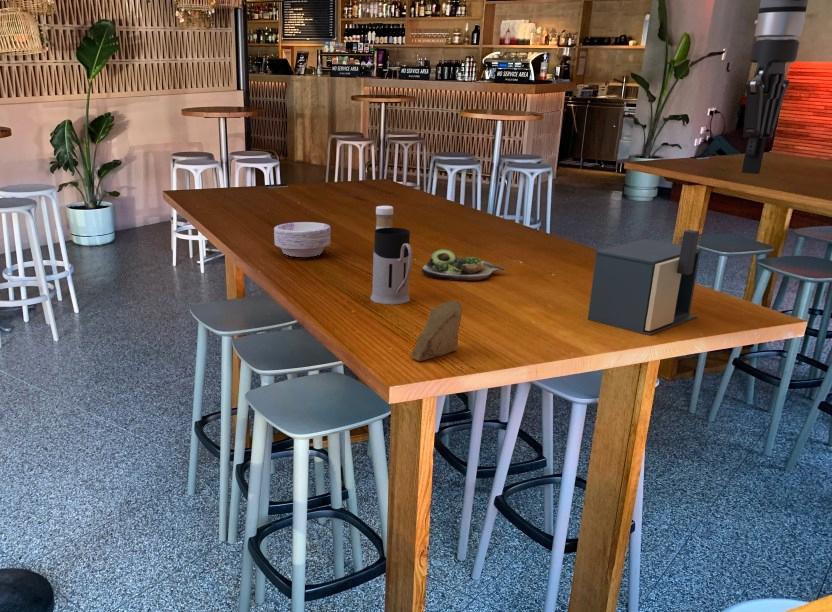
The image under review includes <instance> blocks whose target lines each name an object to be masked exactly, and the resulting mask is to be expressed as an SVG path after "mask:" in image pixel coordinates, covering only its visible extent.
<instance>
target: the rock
mask: <svg viewBox="0 0 832 612" xmlns="http://www.w3.org/2000/svg"><path fill="white" fill-rule="evenodd" d="M462 309H463V308H462V305H461V304H460V301H459V300H455V301H453V300H448V301H445V302H443V303H441V304H440V305H437V307H435V308H433V309H431V310H430V311H429V316H428V320H427V321H426V323H425V326H424V327H423V330H422V332H420V334H419V336H418V337H417V340H416V343H415V346H414V348H413V349H412V352H411V354H410V358H412V359H413V360H416V361H418V362H423V361H426V360H430V359H434V358H437V357H440V356H445V355H447V354H449V353H453V352H456V351H457V349H458V344H459V329H460V326H461V321H462Z"/></svg>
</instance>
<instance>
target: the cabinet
mask: <svg viewBox="0 0 832 612" xmlns="http://www.w3.org/2000/svg"><path fill="white" fill-rule="evenodd" d="M681 246H682V244H678V243H673V242H666V241H660V240H654V239H650V238H649V239H648V238H644V239H640V240H639V239H638V240H635V241H631V242H627V243H624V244H618V245H616V246H612V247H606V248H603V249H599V250H596V253H595V259H594V266H593V267H594V268H593V275H592V283H591V292H590V297H589V298H590V299H589V306H588V313H587V320H588V321H593V322H596V323H599V324H604V325H608V326H612V327H615V328H619V329H623V330H627V331H631V332H635V333H639V334H643V335H645V336H646V335H647V336H653V335H656V334H658V333H661V332H663V331H666V330H668V329H671V328H674V327H676V326H679V325H681V324H684V323H687V322H689V321H693V320H694V319H697V318H698V315H696V314H692V313H691V309H692V303H693V296H694V291H695V287H696V286H695V285H696V280H697V274H698V270H699V269H698V268H699V264H700V257H701V252H702V248H701V247H697V248H696V253H695V259H694V265H693V270H692V273H691V274H688V275H685V274H681V279H680V285H679V291H678V297H677V303H676V308H675V314H674V320H673V322H672V323H670V324H667V325H665V326H662V327H659V328H657V329H654V330H651V331H647V330H645V326H646V320H647V314H648V307H649V301H650V295H651V288H652V282H653V276H654V269H655V264H658V263H661V262H665V261H668V260H672V259H675V258H679V257H680V252H681ZM690 313H691V314H690Z"/></svg>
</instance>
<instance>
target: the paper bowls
mask: <svg viewBox="0 0 832 612" xmlns="http://www.w3.org/2000/svg"><path fill="white" fill-rule="evenodd" d="M273 237H274V239H273V240H274V242H273V243H274V246H275V247H278V248H280V249H281V251H282V253H283V255H284V254H286V255H289V256H296V257H310V256H317V255H319V256H320V254H321V253H322V254H323V251H324V250H325V247H328V246H330V245H331V226H330V225H329V224H327V223H322V222H314V221H301V222H299V221H298V222H287V223H281V224H278V225H276V226H274V228H273ZM322 254H321V255H322ZM286 255H285V256H286ZM317 257H318V256H317Z"/></svg>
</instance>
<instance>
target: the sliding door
mask: <svg viewBox="0 0 832 612" xmlns="http://www.w3.org/2000/svg"><path fill="white" fill-rule="evenodd" d="M699 236H700V231H699V230H694V229H687V230H684V231H683V235H682V240H681V245H682V246H681V252H680V257H679V258H675V259H672V260H668V261H665V262H661V263H658V264H655V269H654V276H653V282H652V288H651V295H650V301H649V307H648V314H647V320H646V326H645V330H647V331H651V330H654V329H657V328H659V327H662V326H665V325H667V324H670V323H672V322H673V320H674V314H675V308H676V303H677V297H678V291H679V285H680V279H681V274H685V275H688V274H691V273H692V270H693V265H694V259H695V253H696V248H698V243H699Z"/></svg>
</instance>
